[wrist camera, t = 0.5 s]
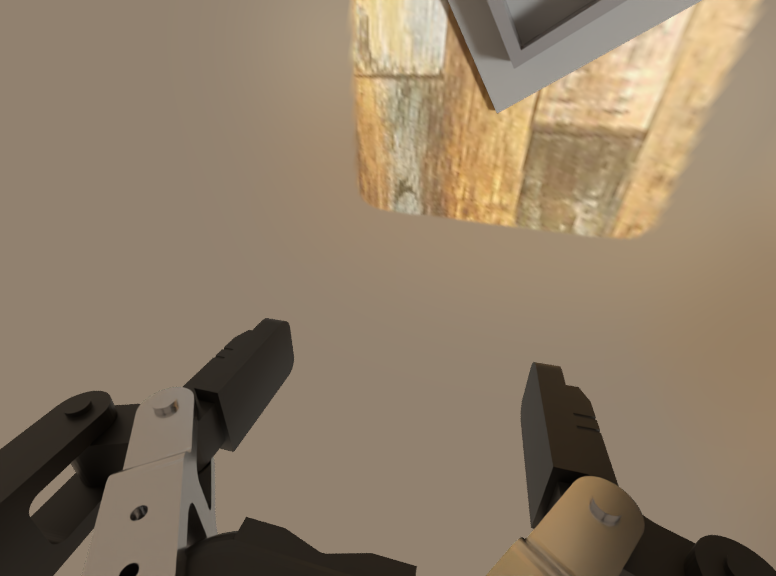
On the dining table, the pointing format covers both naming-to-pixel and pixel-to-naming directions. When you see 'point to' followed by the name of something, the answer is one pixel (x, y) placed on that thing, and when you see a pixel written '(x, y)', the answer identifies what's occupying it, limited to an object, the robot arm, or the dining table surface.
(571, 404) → the robot arm
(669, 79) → the dining table surface
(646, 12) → the sleeve stand
